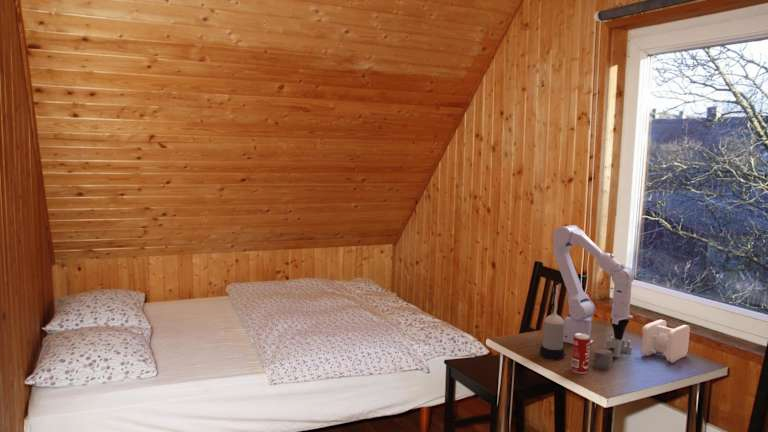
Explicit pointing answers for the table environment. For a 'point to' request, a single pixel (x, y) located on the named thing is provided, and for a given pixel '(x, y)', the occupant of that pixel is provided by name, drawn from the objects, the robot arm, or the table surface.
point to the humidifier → (553, 335)
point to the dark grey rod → (609, 350)
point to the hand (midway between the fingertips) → (618, 339)
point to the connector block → (603, 359)
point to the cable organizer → (665, 340)
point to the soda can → (580, 353)
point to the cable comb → (625, 346)
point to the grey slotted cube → (614, 346)
